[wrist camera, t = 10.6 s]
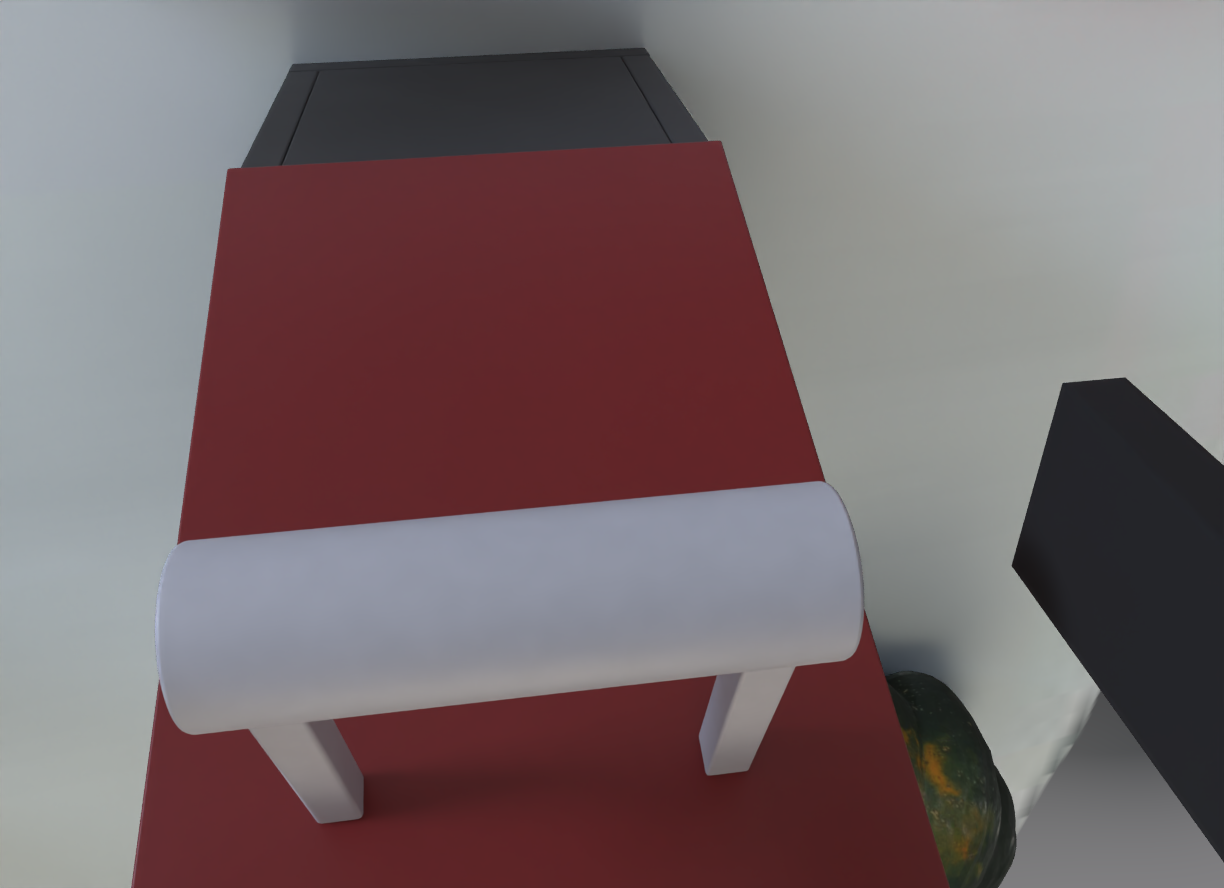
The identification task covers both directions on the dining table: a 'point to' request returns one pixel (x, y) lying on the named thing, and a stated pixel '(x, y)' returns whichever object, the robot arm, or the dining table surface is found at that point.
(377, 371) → the lid
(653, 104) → the black storage bin
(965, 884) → the squash
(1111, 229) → the dining table surface
